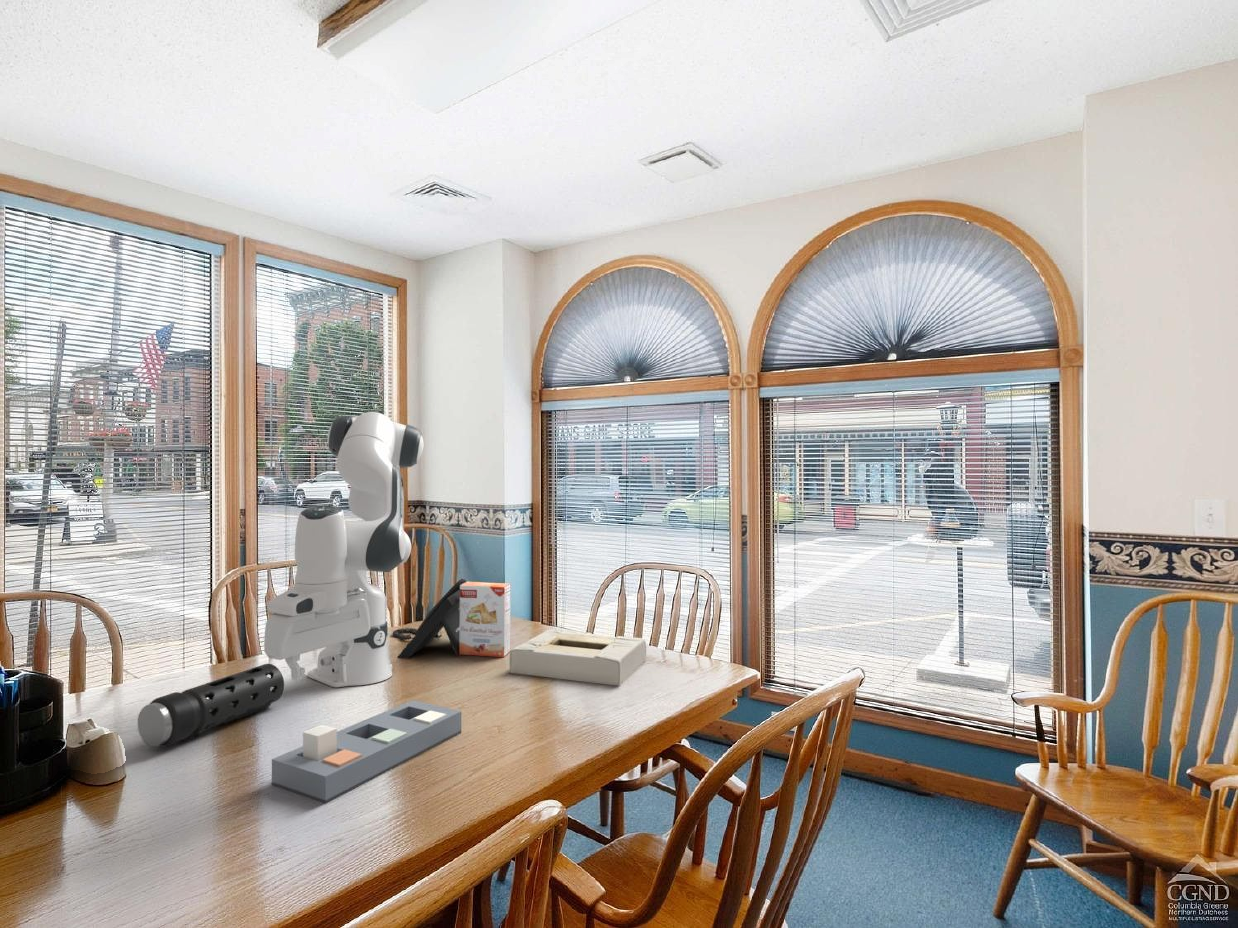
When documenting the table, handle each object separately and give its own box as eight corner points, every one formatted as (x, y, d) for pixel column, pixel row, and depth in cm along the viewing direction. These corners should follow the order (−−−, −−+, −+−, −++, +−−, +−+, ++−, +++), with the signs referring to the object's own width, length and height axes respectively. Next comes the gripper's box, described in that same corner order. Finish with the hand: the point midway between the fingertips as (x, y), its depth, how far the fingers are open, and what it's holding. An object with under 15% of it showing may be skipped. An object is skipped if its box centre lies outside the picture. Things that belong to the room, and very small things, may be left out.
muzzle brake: (285, 709, 159) (285, 664, 159) (168, 758, 133) (167, 704, 133) (254, 703, 163) (254, 659, 163) (134, 750, 137) (134, 698, 137)
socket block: (271, 784, 122) (271, 756, 122) (412, 720, 152) (412, 698, 152) (325, 803, 116) (325, 774, 116) (461, 732, 146) (461, 709, 146)
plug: (303, 776, 124) (303, 731, 124) (321, 767, 128) (321, 724, 128) (318, 781, 123) (318, 736, 123) (336, 772, 126) (336, 728, 126)
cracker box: (458, 655, 202) (458, 584, 202) (466, 649, 208) (466, 580, 208) (504, 658, 200) (504, 586, 200) (510, 652, 206) (511, 582, 206)
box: (508, 675, 186) (620, 687, 176) (508, 647, 186) (620, 657, 176) (544, 654, 208) (646, 663, 198) (544, 628, 208) (646, 636, 198)
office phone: (398, 632, 230) (398, 571, 230) (481, 633, 228) (482, 573, 228) (359, 657, 201) (359, 588, 201) (455, 659, 199) (455, 590, 199)
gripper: (355, 584, 137) (354, 654, 137) (258, 604, 118) (258, 684, 119) (378, 587, 134) (377, 659, 134) (282, 608, 116) (282, 690, 116)
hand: (320, 671), depth 126 cm, fingers open, 8 cm apart
